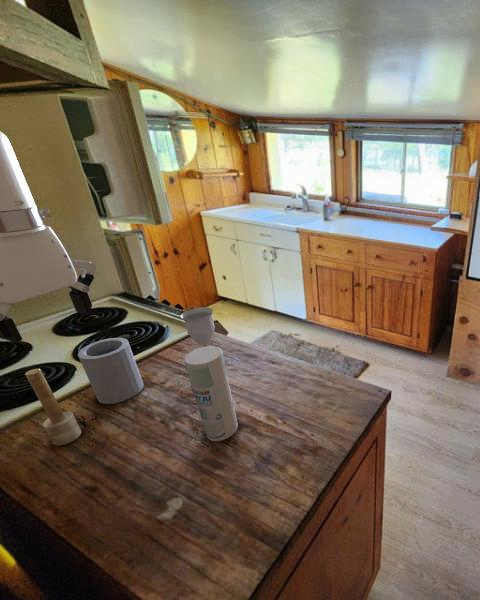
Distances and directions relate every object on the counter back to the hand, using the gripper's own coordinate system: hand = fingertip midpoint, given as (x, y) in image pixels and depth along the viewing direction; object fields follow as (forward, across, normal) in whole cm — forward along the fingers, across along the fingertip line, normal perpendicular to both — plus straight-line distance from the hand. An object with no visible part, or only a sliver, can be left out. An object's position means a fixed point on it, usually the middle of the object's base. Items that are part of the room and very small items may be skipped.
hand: (52, 325), depth 54 cm
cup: (+29, -14, -16) cm, 36 cm away
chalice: (+29, -28, -1) cm, 40 cm away
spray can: (+29, -11, +17) cm, 36 cm away
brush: (+29, 0, -12) cm, 32 cm away
